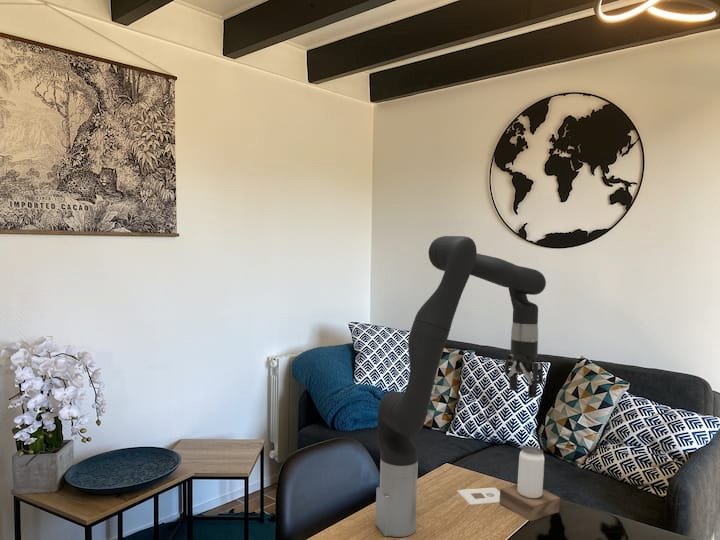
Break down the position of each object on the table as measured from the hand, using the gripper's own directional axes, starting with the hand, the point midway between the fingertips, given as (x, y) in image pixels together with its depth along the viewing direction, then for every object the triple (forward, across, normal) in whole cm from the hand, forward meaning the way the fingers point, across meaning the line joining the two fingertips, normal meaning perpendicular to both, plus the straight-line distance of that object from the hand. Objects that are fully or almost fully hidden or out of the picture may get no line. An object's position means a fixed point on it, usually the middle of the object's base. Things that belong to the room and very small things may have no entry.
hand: (522, 393), depth 159 cm
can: (+24, +11, -5) cm, 27 cm away
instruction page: (+28, +1, -13) cm, 31 cm away
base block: (+28, +11, -5) cm, 30 cm away
